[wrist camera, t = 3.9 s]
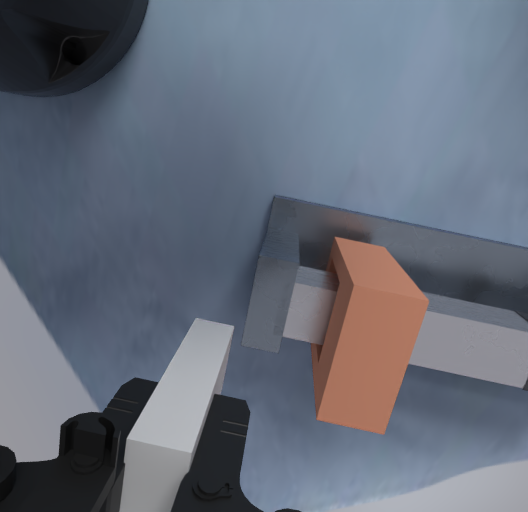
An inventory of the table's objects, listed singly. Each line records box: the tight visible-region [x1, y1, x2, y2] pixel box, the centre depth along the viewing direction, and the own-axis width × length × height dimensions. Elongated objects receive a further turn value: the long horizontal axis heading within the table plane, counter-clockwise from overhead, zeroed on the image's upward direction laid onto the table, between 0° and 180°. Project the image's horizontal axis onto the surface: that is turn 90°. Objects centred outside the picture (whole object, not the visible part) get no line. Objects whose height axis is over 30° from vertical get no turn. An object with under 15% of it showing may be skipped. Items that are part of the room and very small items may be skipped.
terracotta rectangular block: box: [311, 237, 429, 435], centre depth 21 cm, size 3×6×8 cm, turn 169°
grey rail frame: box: [241, 195, 528, 391], centre depth 24 cm, size 22×9×8 cm, turn 79°
